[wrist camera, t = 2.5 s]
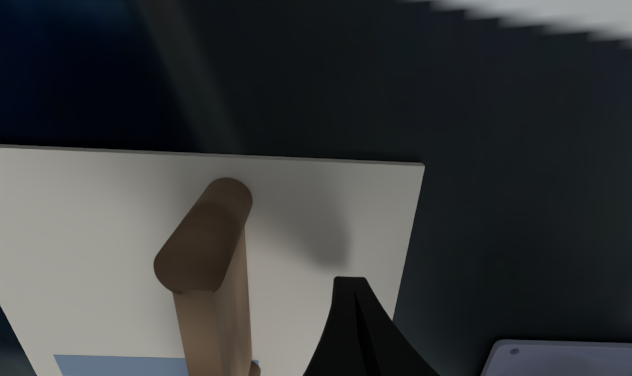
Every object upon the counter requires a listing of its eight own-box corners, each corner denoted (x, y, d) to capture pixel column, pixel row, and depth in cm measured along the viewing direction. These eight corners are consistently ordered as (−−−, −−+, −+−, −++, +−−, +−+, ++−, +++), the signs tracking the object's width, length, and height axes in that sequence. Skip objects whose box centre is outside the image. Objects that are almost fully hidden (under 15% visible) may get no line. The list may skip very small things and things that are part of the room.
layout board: (422, 162, 13) (425, 166, 12) (359, 464, 23) (360, 471, 23) (-72, 141, 12) (-85, 144, 12) (87, 458, 23) (83, 465, 22)
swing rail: (260, 383, 18) (241, 507, 13) (226, 382, 18) (194, 506, 13) (251, 178, 13) (212, 264, 8) (201, 176, 12) (130, 261, 8)
